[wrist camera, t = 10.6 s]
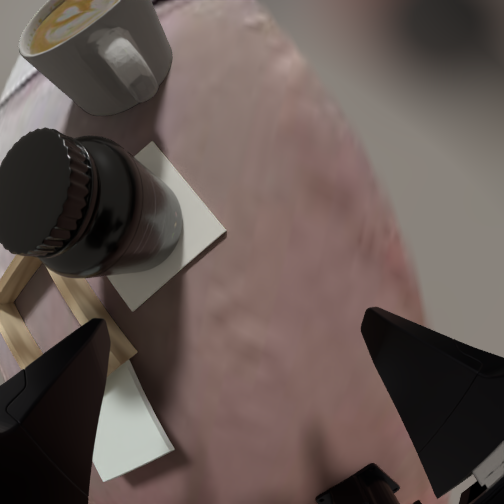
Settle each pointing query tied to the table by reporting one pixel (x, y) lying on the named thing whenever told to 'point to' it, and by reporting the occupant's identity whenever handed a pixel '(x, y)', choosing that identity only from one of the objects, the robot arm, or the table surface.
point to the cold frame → (78, 299)
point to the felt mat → (191, 239)
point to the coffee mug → (99, 51)
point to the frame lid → (127, 427)
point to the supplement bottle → (85, 206)
